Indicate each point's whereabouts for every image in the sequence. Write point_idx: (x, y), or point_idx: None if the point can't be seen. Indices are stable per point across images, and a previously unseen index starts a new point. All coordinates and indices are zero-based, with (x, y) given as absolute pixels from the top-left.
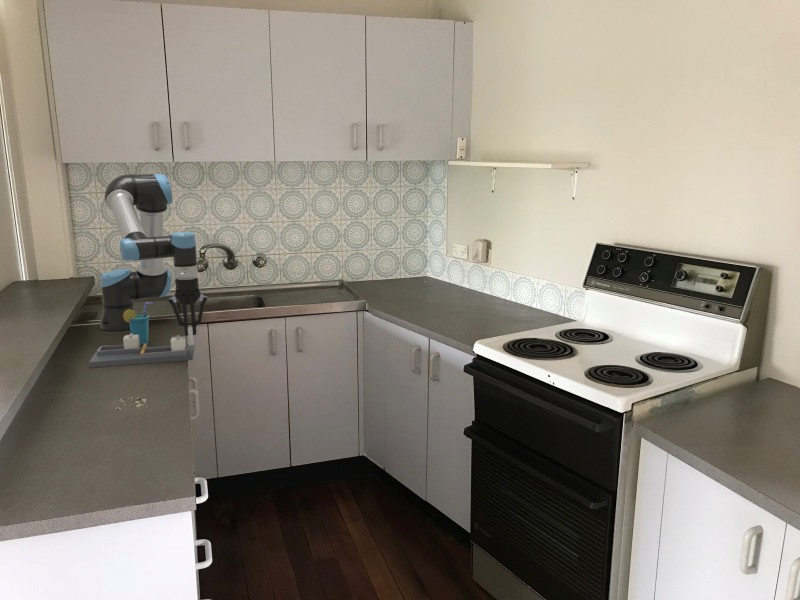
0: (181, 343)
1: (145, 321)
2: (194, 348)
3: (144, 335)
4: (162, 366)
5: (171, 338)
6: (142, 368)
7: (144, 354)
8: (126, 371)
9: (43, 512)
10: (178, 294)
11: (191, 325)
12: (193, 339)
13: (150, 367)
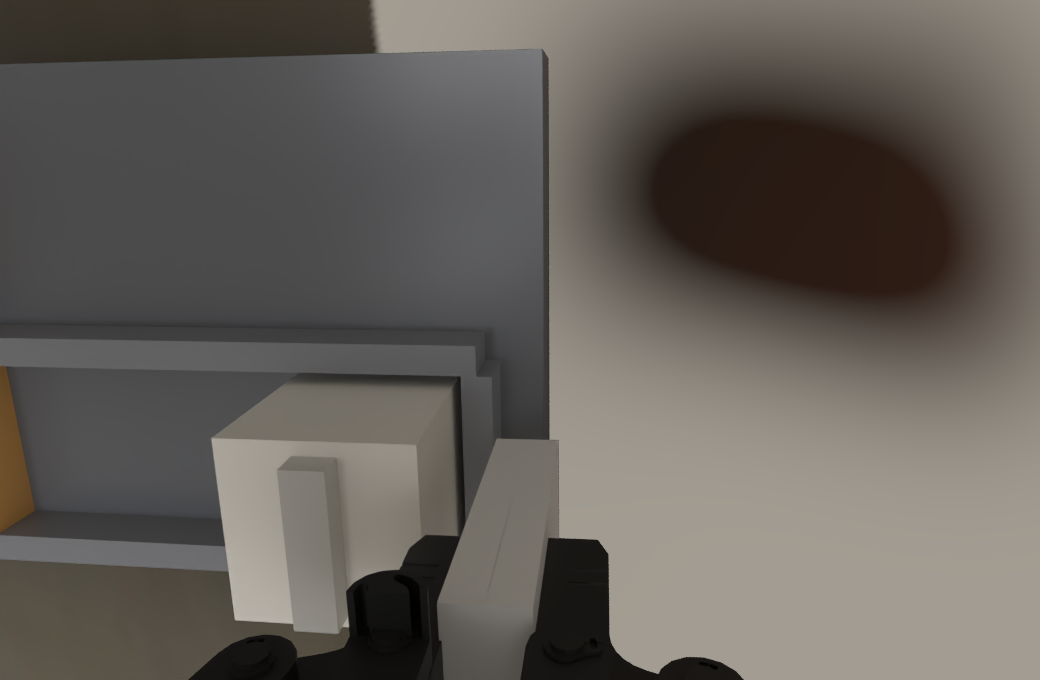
0: None
1: None
2: (547, 78)
3: None
4: (281, 632)
5: (220, 499)
6: (116, 634)
7: (27, 556)
8: (7, 672)
9: None
10: None
11: (510, 638)
12: (554, 515)
13: (179, 628)
